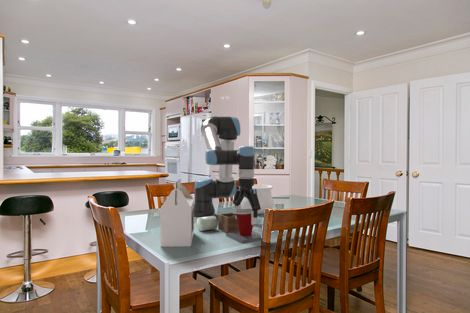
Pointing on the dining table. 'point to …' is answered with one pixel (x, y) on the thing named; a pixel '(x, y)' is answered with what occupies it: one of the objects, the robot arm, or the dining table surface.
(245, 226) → the plastic cup
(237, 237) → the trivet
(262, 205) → the pot
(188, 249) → the dining table surface
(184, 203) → the gable box
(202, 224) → the pale green capsule
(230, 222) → the walnut box
